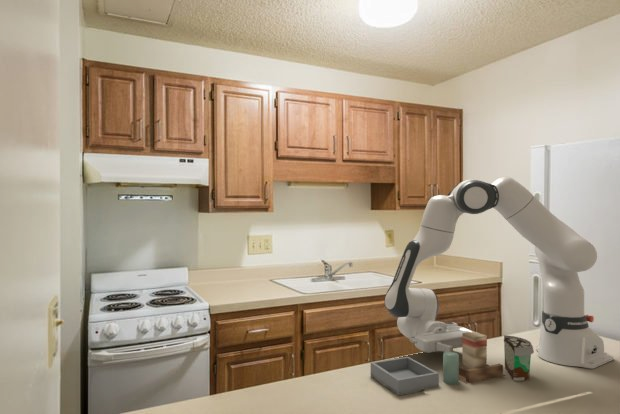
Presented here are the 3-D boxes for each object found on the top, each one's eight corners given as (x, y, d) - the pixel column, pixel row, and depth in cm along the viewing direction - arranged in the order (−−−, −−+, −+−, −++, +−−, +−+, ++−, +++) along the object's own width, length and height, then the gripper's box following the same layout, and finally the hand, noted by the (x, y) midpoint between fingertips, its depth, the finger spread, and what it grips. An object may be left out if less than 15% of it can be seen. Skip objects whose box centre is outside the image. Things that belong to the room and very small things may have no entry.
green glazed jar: (451, 379, 117) (451, 350, 117) (462, 385, 114) (462, 355, 114) (440, 382, 116) (440, 352, 116) (450, 387, 112) (450, 357, 112)
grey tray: (408, 369, 125) (408, 356, 125) (438, 387, 112) (438, 373, 112) (370, 375, 120) (370, 362, 120) (398, 395, 107) (398, 380, 107)
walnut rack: (481, 366, 127) (481, 354, 127) (506, 377, 119) (506, 364, 119) (443, 373, 122) (443, 360, 122) (466, 385, 113) (466, 372, 113)
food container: (540, 387, 112) (540, 349, 112) (515, 385, 113) (515, 348, 114) (526, 370, 124) (526, 335, 124) (503, 368, 126) (503, 334, 126)
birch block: (474, 369, 123) (474, 331, 123) (486, 375, 119) (486, 335, 119) (462, 371, 122) (462, 333, 122) (474, 377, 117) (474, 337, 117)
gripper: (406, 328, 133) (435, 341, 120) (458, 321, 141) (490, 333, 128) (406, 348, 133) (435, 363, 120) (458, 341, 141) (490, 354, 128)
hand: (464, 347), depth 124 cm, fingers open, 8 cm apart
